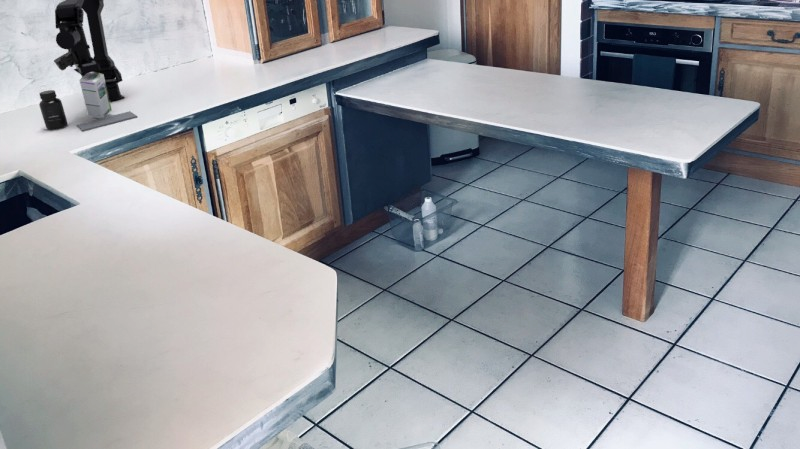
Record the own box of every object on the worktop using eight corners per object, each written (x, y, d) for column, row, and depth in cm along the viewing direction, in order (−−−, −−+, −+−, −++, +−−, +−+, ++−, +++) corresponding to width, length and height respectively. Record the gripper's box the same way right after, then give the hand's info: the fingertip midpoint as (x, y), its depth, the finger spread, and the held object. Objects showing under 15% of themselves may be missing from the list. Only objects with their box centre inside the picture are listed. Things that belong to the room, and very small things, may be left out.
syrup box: (104, 119, 247) (96, 82, 238) (87, 116, 248) (78, 79, 238) (112, 110, 251) (104, 73, 242) (95, 107, 252) (87, 70, 242)
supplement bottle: (54, 131, 240) (43, 96, 235) (42, 129, 243) (31, 94, 238) (72, 124, 245) (62, 89, 240) (60, 122, 248) (49, 88, 243)
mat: (76, 126, 243) (76, 124, 243) (130, 112, 252) (129, 111, 251) (82, 131, 237) (82, 130, 237) (137, 117, 246) (137, 115, 245)
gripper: (46, 44, 244) (60, 90, 251) (58, 51, 230) (72, 99, 237) (80, 37, 250) (93, 82, 257) (94, 44, 236) (107, 91, 242)
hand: (90, 89), depth 248 cm, fingers closed
